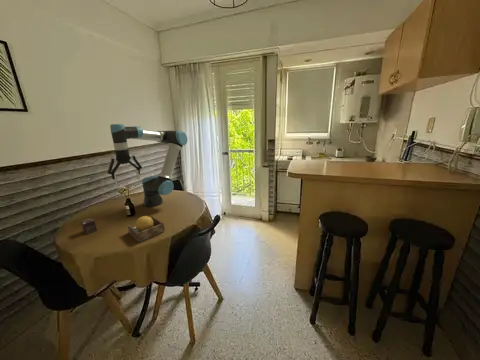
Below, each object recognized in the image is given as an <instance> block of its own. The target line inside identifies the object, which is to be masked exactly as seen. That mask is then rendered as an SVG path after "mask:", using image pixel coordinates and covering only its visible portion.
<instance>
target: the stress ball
mask: <svg viewBox="0 0 480 360" xmlns="http://www.w3.org/2000/svg"><path fill="white" fill-rule="evenodd" d="M135 227H136V228H137V229H138V230H139V231H140V232H141V231H144V230H146V229H149V228H151V227H153V220H152V217H150V216H149V215H143V216H140V217H139V218H137V220H136V222H135Z"/></svg>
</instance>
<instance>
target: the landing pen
mask: <svg viewBox="0 0 480 360" xmlns="http://www.w3.org/2000/svg"><path fill="white" fill-rule="evenodd" d="M151 218H152V220H153V227H151V228H149V229H146V230H144V231H141V232H140V231H139V230H138V229H137V228H136V226H135V227H133V226H131V225H130V224H127V231H128V234H129V235H130V236H131V237H132V238H134V240H135V241H136V242H138V243H142V242H143V240H144V241H145V239H146V240H148V239H151V238H153V237H155V236H157V235H156V234H158V235H160V234H162V233H164V232H163V231H165V232H166V229H165V223H164V222H162V221H161V220H159V219H158V218H157V217H155V216H154V215H152V216H151ZM161 232H162V233H161ZM159 233H160V234H159ZM154 235H155V236H154ZM152 236H153V237H152ZM150 237H151V238H150Z"/></svg>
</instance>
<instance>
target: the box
mask: <svg viewBox="0 0 480 360" xmlns="http://www.w3.org/2000/svg"><path fill="white" fill-rule="evenodd" d="M80 224H81V228H82V230H83V232H84V234H85V235H88V234H91V233H93V232H96V231H98V229H97V225H96V220H95V219H94V218H92V217H90V218H87V219H84V220H80Z"/></svg>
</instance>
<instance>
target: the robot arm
mask: <svg viewBox="0 0 480 360" xmlns="http://www.w3.org/2000/svg"><path fill="white" fill-rule="evenodd" d="M109 127H110V134H111V138H112V144H113V148H114V154H115V158H113V157H111V158H110V163H109V166H108V170H107V174H108V175H111V179H112V180H113V181H114V184H115V185H119V184H118V179H117V175H116V172H117V170H118V168H119V167H120V166H121V165H125V164H126V165H127V164H129V165H130V166H132V167H133V168H134V169H135V174H136V179H137V180H141V185H142V188H143V189H142V190H143V194H144V195H143V196H144V197H143V200H142V201H143V206H144V207H148V208H151V207H157V206H160V205H161V204H163V203H164V202H163V201H164V200H163V197H162V196H167V195H171V193H173V191H174V183H173V178H172V176H173V173H174V169H175V166H176V163H177V161H178V156H179V153H180V151H181V150H183V146H185V145H187V143H188V136H187V134H186V132H184V131H183V130H180V129H179V130H157V131H156V130H155V131H154V130H146V129H143V128H142V127H141V126H137V125H135V126H125V124H123V123H112V124H110V126H109ZM129 139H131V140H141V141H142V140H143V141H153V142H156V143H160V144H164V145H168V148H167V152H166V155H165V157H164V158H165V159H164V162H163V164H162V168H161V171H160V174H159V175H151V176H147V177H143V178H142V179H140V175H141V171H140V170H141V169H143V166H142V165H141V164H140V163H139V161H138V160H137V158H136V156H135V154H132V155H130V152H129V146H128V140H129ZM131 160H133V161H134V163H133V162H132V161H131ZM115 162H116V163H115ZM114 163H115V165H114ZM135 164H136V165H135Z"/></svg>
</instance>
